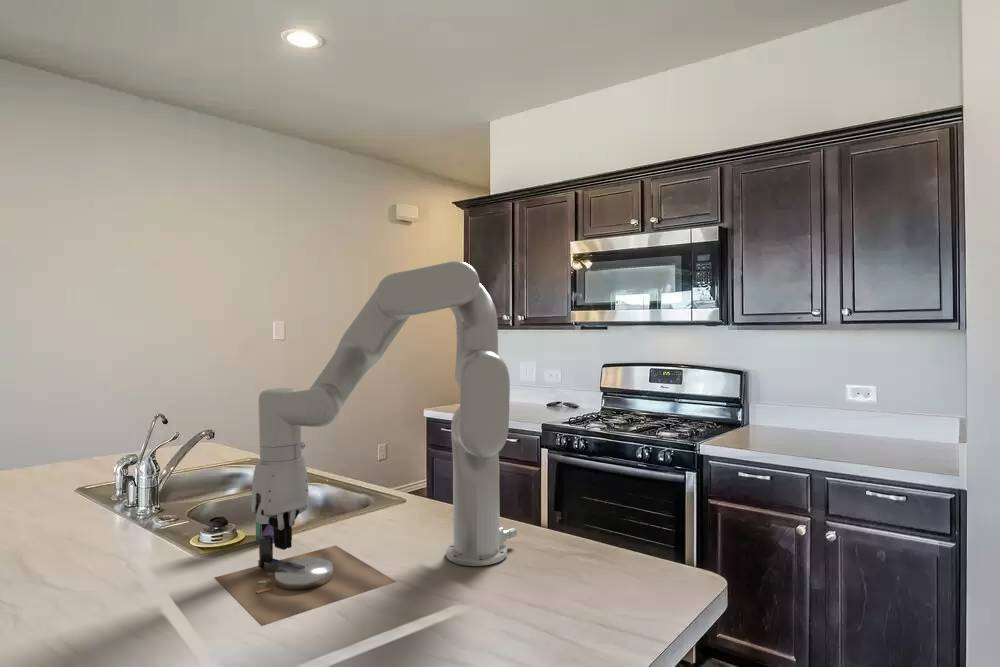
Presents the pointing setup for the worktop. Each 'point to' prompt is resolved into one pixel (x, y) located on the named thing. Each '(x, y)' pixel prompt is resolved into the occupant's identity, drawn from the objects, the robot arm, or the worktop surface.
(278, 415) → the robot arm
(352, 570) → the board
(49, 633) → the worktop surface
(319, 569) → the dial
